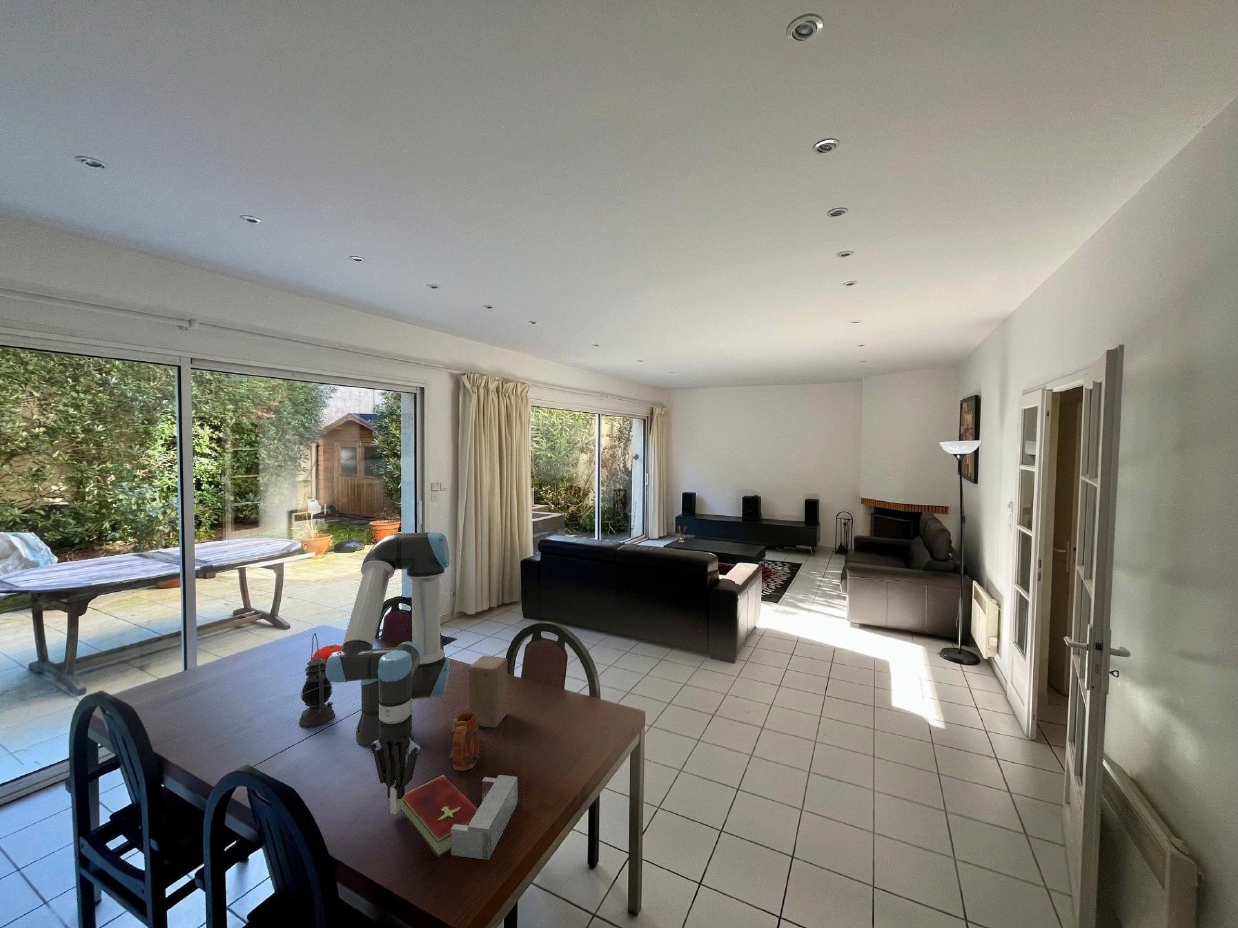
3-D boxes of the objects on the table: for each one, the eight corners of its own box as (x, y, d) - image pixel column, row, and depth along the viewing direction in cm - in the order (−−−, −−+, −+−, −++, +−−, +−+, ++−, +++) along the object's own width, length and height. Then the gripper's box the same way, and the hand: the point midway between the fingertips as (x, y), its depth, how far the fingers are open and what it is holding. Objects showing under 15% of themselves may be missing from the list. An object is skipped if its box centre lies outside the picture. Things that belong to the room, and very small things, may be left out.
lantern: (340, 719, 168) (339, 632, 167) (304, 732, 160) (303, 641, 159) (328, 707, 176) (327, 623, 176) (293, 718, 168) (292, 631, 168)
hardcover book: (444, 788, 134) (444, 772, 134) (485, 829, 120) (485, 812, 119) (400, 811, 126) (399, 794, 125) (437, 858, 111) (437, 840, 111)
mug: (454, 756, 148) (454, 706, 147) (482, 754, 148) (482, 705, 148) (441, 789, 133) (441, 734, 133) (472, 787, 134) (471, 733, 133)
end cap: (451, 854, 111) (450, 824, 111) (484, 799, 129) (484, 773, 129) (488, 859, 110) (488, 829, 110) (517, 803, 128) (517, 776, 128)
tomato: (335, 679, 198) (335, 653, 198) (304, 678, 198) (303, 653, 198) (355, 663, 212) (354, 639, 212) (325, 663, 213) (325, 639, 212)
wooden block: (496, 729, 162) (495, 669, 162) (468, 725, 164) (467, 666, 164) (508, 713, 172) (508, 656, 172) (482, 710, 174) (482, 654, 174)
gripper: (361, 722, 120) (362, 817, 120) (410, 727, 118) (411, 824, 118) (381, 706, 127) (382, 796, 128) (427, 710, 125) (428, 802, 126)
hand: (396, 809), depth 123 cm, fingers closed
